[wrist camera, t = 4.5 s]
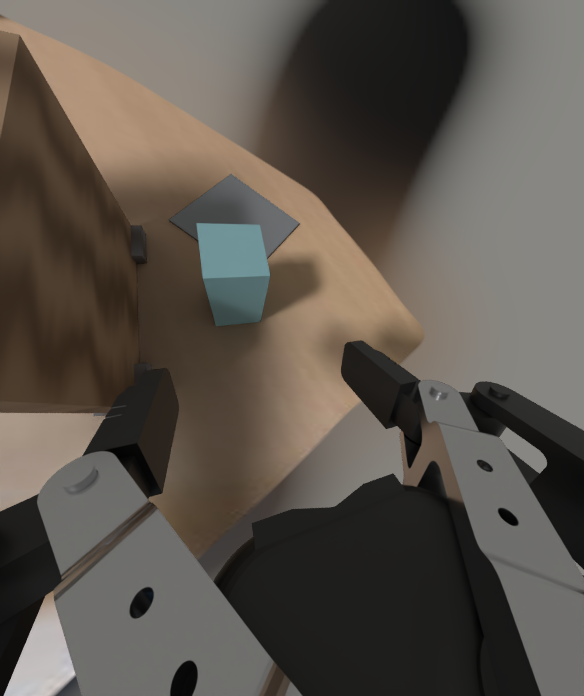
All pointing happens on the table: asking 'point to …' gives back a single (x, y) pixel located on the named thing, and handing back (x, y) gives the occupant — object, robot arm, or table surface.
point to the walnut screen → (60, 258)
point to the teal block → (234, 271)
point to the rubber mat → (237, 212)
